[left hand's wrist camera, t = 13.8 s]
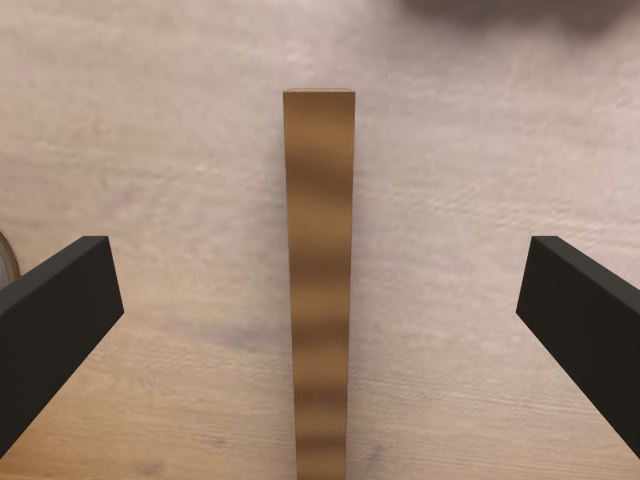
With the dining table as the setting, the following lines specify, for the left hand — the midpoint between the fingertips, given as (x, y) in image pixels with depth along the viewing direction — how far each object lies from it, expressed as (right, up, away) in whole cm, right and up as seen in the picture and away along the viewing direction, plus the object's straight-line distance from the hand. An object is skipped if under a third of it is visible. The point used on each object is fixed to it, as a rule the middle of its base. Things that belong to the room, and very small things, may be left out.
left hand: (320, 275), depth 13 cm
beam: (0, -10, +30) cm, 32 cm away
